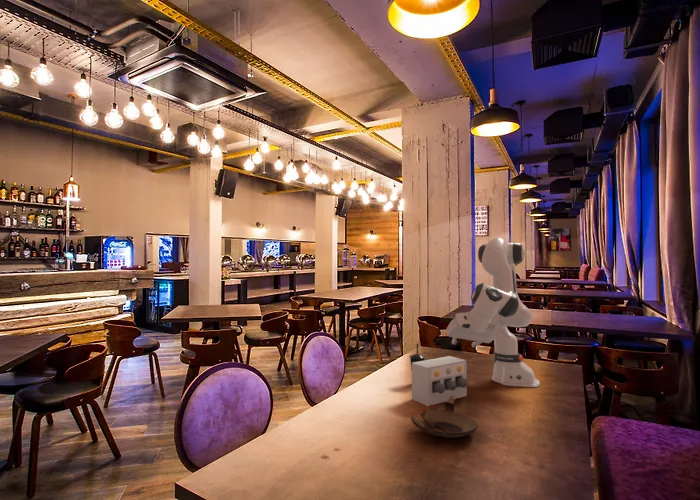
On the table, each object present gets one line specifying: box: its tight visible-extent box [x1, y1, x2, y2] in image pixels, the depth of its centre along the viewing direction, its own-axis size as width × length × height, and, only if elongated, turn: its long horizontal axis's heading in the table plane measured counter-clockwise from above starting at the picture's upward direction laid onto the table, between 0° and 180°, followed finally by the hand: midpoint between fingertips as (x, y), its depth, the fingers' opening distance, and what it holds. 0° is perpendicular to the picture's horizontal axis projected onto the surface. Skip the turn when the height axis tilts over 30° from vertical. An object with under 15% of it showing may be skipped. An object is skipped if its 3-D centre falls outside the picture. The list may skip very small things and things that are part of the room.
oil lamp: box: [410, 396, 478, 439], centre depth 139 cm, size 22×30×8 cm
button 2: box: [445, 379, 456, 391], centre depth 168 cm, size 3×4×4 cm
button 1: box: [456, 377, 468, 388], centre depth 172 cm, size 3×4×4 cm
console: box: [411, 355, 468, 407], centre depth 174 cm, size 11×24×16 cm, turn 122°
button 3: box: [433, 382, 445, 393], centre depth 165 cm, size 3×4×4 cm
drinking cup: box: [409, 343, 426, 372], centre depth 193 cm, size 8×8×20 cm
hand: (463, 344), depth 168 cm, fingers open, 8 cm apart
